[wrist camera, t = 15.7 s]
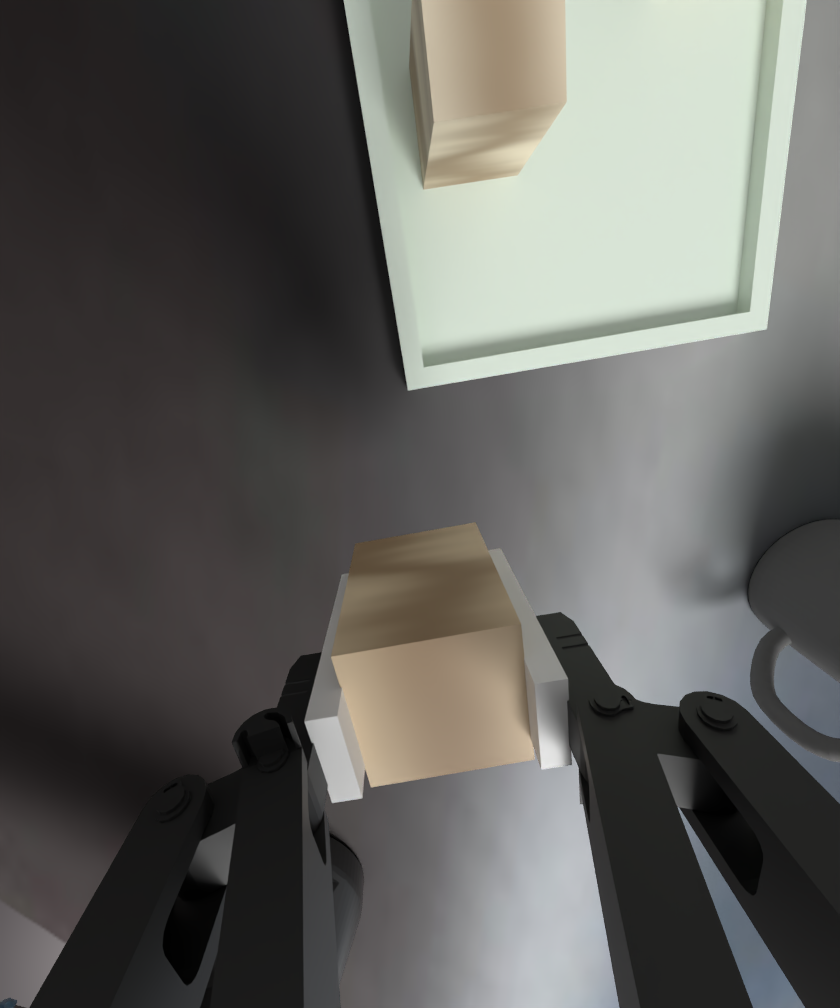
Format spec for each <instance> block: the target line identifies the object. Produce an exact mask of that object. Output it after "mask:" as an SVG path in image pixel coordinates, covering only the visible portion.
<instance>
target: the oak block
mask: <svg viewBox="0 0 840 1008" xmlns="http://www.w3.org/2000/svg"><path fill="white" fill-rule="evenodd" d="M331 659H332V662H333V666H334V669H335V672H336V675H337V678H338V682H339V685H340V688H342V689H343V692H344V696H345V699H346V703H347V706H348V709H349V713H350V716H351V720H352V723H353V726H354V730H355V733H356V737H357V740H358V743H359V747H360V750H361V754H362V757H363V760H364V764H365V769H366V772H367V775H368V779H369V782H370V785H371V787H376V786H382V785H388V784H394V783H400V782H406V781H412V780H417V779H423V778H429V777H435V776H441V775H447V774H453V773H459V772H465V771H470V770H476V769H482V768H488V767H494V766H500V765H506V764H512V763H518V762H523V761H529V760H535V759H534V749H533V744H532V741H531V735H530V724H529V712H528V701H527V689H526V678H525V666H524V648H523V638H522V628H521V622H520V620H519V618H518V616H517V614H516V611H515V609H514V607H513V605H512V603H511V600H510V598H509V596H508V594H507V591H506V589H505V587H504V585H503V583H502V580H501V578H500V576H499V574H498V571H497V569H496V567H495V565H494V563H493V560H492V558H491V556H490V554H489V552H488V549H487V547H486V545H485V543H484V540H483V538H482V536H481V534H480V532H479V529H478V527H477V525H476V523H470V524H464V525H458V526H453V527H447V528H441V529H436V530H430V531H424V532H419V533H413V534H407V535H402V536H396V537H391V538H385V539H379V540H374V541H368V542H362V543H357V544H355V548H354V552H353V557H352V561H351V566H350V571H349V575H348V580H347V584H346V589H345V594H344V598H343V603H342V608H341V612H340V617H339V621H338V626H337V631H336V635H335V640H334V644H333V649H332V654H331Z"/></svg>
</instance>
